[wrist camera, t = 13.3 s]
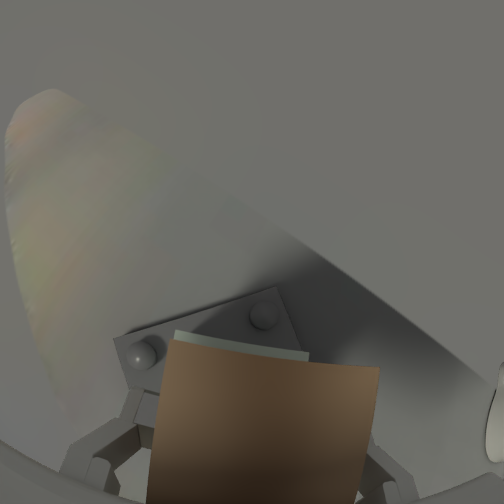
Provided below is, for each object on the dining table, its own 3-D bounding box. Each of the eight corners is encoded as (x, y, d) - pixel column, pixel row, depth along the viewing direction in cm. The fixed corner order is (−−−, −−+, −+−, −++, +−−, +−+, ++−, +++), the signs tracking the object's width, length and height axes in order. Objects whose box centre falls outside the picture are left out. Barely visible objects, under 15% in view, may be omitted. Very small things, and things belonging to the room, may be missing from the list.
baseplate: (272, 290, 26) (297, 262, 19) (329, 432, 22) (371, 451, 15) (118, 339, 22) (84, 329, 15) (178, 487, 18) (170, 529, 11)
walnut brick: (299, 367, 15) (379, 367, 8) (282, 468, 13) (343, 536, 5) (188, 349, 15) (169, 338, 7) (171, 454, 12) (143, 526, 5)
